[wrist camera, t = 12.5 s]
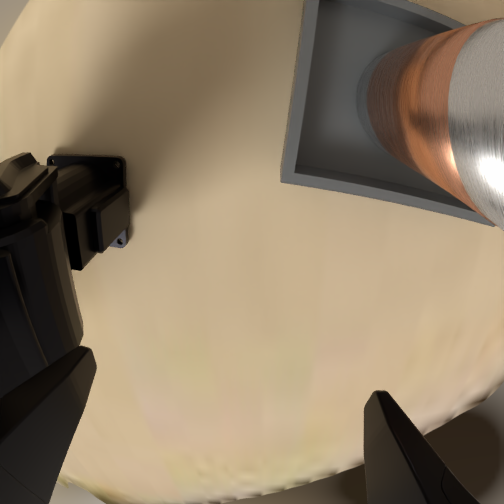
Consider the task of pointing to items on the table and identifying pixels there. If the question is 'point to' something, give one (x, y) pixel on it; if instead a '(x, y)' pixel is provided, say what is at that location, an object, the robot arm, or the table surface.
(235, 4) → the table surface
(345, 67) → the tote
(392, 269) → the table surface
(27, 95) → the table surface
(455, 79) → the steel can
